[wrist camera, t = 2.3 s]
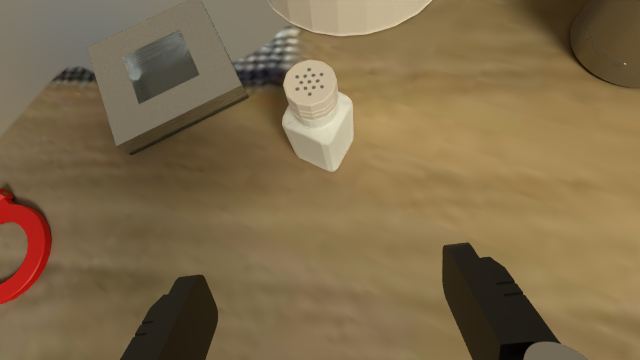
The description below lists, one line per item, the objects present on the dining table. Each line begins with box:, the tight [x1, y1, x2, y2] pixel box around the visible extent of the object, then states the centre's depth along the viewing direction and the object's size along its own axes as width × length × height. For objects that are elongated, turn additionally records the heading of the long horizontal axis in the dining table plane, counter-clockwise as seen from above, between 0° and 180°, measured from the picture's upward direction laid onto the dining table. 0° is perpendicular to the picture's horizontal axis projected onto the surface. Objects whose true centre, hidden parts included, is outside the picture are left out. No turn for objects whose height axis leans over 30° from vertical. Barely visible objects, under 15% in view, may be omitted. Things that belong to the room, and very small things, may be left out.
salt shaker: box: [282, 60, 354, 172], centre depth 24 cm, size 4×4×10 cm
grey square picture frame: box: [87, 0, 249, 155], centre depth 32 cm, size 12×12×2 cm
